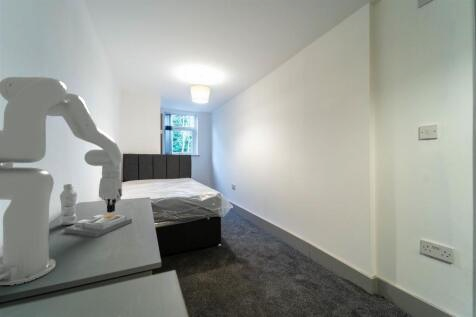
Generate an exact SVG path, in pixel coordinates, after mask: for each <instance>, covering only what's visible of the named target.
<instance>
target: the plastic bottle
mask: <svg viewBox="0 0 476 317" xmlns="http://www.w3.org/2000/svg"><path fill="white" fill-rule="evenodd" d="M62 188H63V190H62V191H61V193H60V195H59V200H60V206H61V207H60V208H61V210H60V216H59V224H60V225H61V226H69V225H70V226H71V225H73V224H76V222H77V220H78V216H77V213H76V203H77V197H78V193H77V192H76V190H75V189H74V184H73V183H68V184H67V183H66V184H63V187H62Z"/></svg>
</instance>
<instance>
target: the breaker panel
mask: <svg viewBox="0 0 476 317" xmlns="http://www.w3.org/2000/svg"><path fill="white" fill-rule="evenodd" d="M106 215H107V214H106ZM106 215H104V214H97V215H94V216H92V217H91V219H80V220H78V221H77V220H76V222H75V224H74V225H73V224H72V225H70V226H67V227H64V233H65V234H66V233H67V234H71V235H79V236H84V237H85V236H86V237H87V236H88V237H93V238H99V237H101V236H103V235H105V234H107V233H110V232H112V231H115V230H116V229H119V228H122V227H124V226H126V225H129V224H131V223H132V222H133V219H132V218H131V217H127V216H126V215H119V214H116V215H117V218H115V219H113V220H112V221H110V222H108V223H105V224H95V223H94V222H96V221H97V220H99V219H101V218H103V217H104V216H106Z"/></svg>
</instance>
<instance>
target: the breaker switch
mask: <svg viewBox="0 0 476 317" xmlns="http://www.w3.org/2000/svg"><path fill="white" fill-rule="evenodd" d="M117 215H118V214H111V213H107V214H106V216H104V217H103V218H101V219H99V220H97V221H96V222H94V223H95V224H105V223H108V222H110V221H112V220H113V219H115V218H117Z"/></svg>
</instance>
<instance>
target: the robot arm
mask: <svg viewBox="0 0 476 317" xmlns="http://www.w3.org/2000/svg"><path fill="white" fill-rule="evenodd" d="M0 96H1V97H2V98H3V99H4V100H6V101H7V103H6V105H5V108H4V112H3V128H2V129H1V130H0V200H3V201H4V200H9V201H10V203H9V204H8V206H7V207H6V209H5V211H4V212H3V217H2V263H1V264H0V285H10V286H15V284H16V285H20V284H25V283H27V282H31V281H34V280H36V278H37V279H39V278H41V277H43V276H45V275H47V274H49V273H50V272H52V271H54V269H55V267H56V263H57V262H56V260H55V259H53V258H50V204H51V203H50V202H51V197H52V196H51V195H52V192H53V189H54V182H55V181H54V177H53V176H52V174H51V173H50V172H48V171H47V170H46V169H45V170H44V169H42V168H38V167H37V168H36V167H24V166H23V167H19V166H18V167H15V166H14V164H31V163H37V162H40V161H41V160H43V159H44V157H45V156H46V153H47V152H46V151H47V150H46V149H47V139H46V138H47V134H46V133H47V132H46V130H47V129H46V128H47V126H46V122H47V121H46V120H47V116H49V117H62V118H63V119H64V120H65V123H66V124H67V126H68V127H69V129H70V132H71V133H72V134H73V136H74V137H75V138H78V139H80V140H82V141H85V142H87V143H90V144H93V145H95V146H98V147H99V148H101V149H90V150H88V151H86V153H85V154H84V162H85V163H86V164H87V165H89V166H93V167H101V178H100V180H99V184H98V197H99V198H100V199H101V200H102V201H104V202H105V205H106V213H108V214H111V213H113V212H115V211H116V204H117V202H119V201H121V200H122V196H123V184H122V178H121V163H122V157H123V156H122V153H121V150H120V148H119V146H118V144H117V142H116V141H115V140H114V139H113V138H112V137H110V136H109V135H108V134H107V133H105V131H103V130H101V129H99V127H98V126H97V124H96V123H95V120H94V118H93V117H92V114H91V113H90V110H89V108H88V106H87V105H86V102H85V100H84V99H83V98H82V97H81V96H80V95H78V94H75V93H68V92H67V86H66V85H65V83H63V82H62V81H61V80H59V79H57V78H53V77H43V76H40V77H38V76H27V77H26V76H9V77H5V78H3V79H2V80H1V81H0ZM24 282H25V283H24Z"/></svg>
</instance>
